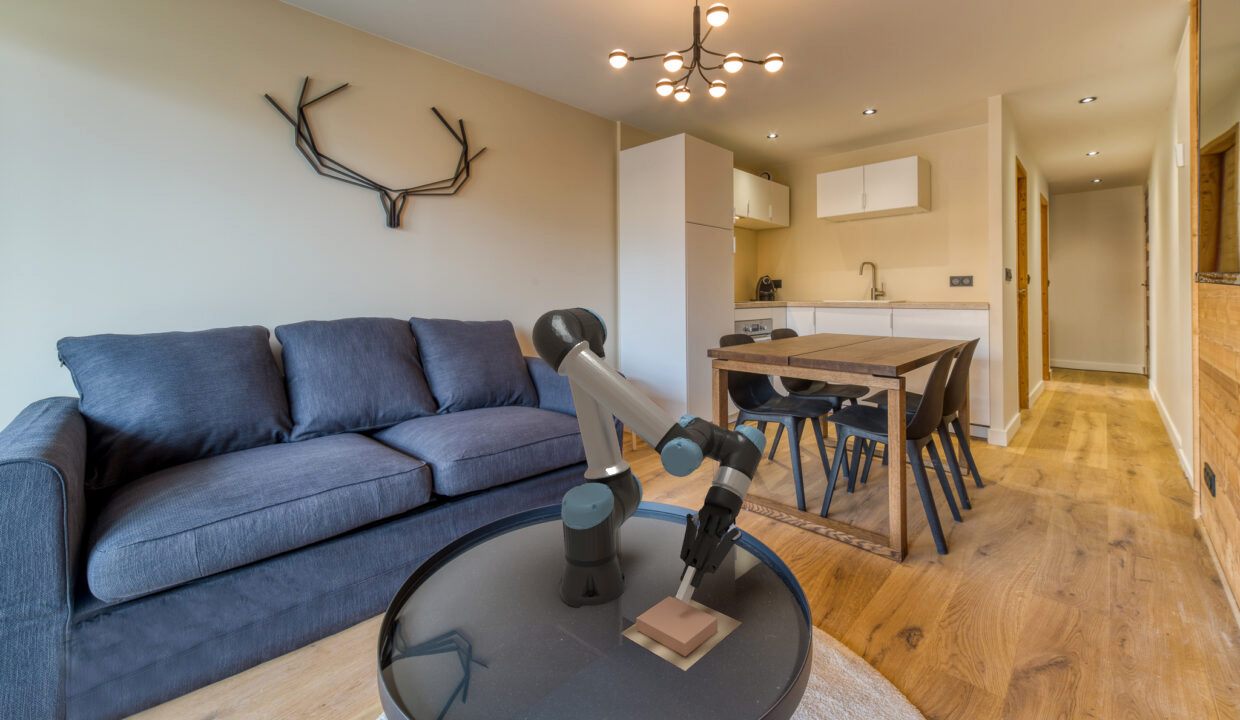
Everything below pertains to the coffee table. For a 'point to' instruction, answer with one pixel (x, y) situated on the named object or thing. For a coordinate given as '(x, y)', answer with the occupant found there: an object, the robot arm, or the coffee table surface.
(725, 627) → the oak board
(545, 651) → the coffee table surface
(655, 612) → the terracotta tile
